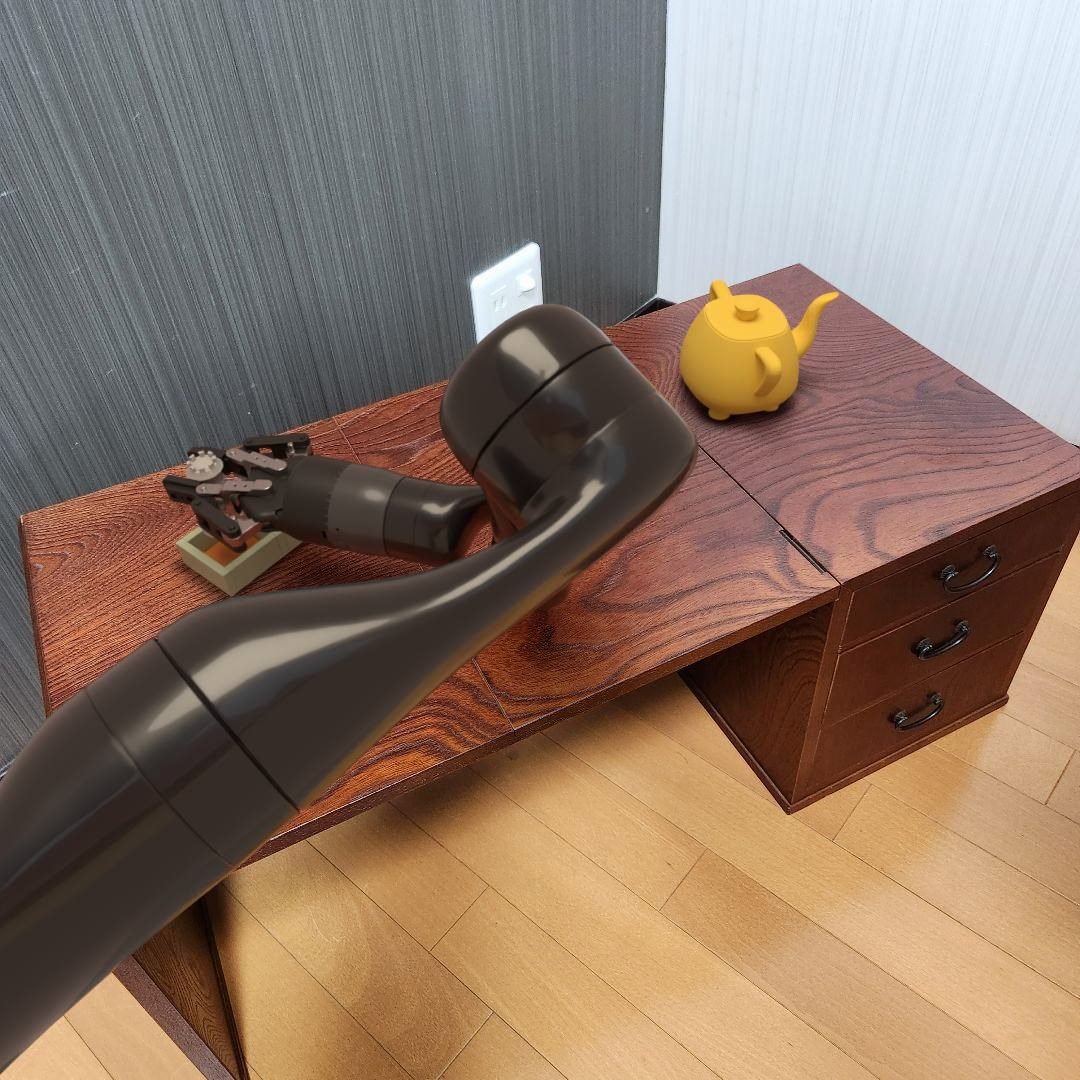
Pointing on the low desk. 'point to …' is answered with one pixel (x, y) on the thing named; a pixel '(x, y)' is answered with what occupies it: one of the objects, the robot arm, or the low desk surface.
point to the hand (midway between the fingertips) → (180, 471)
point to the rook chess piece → (206, 472)
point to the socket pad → (233, 557)
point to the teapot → (745, 352)
